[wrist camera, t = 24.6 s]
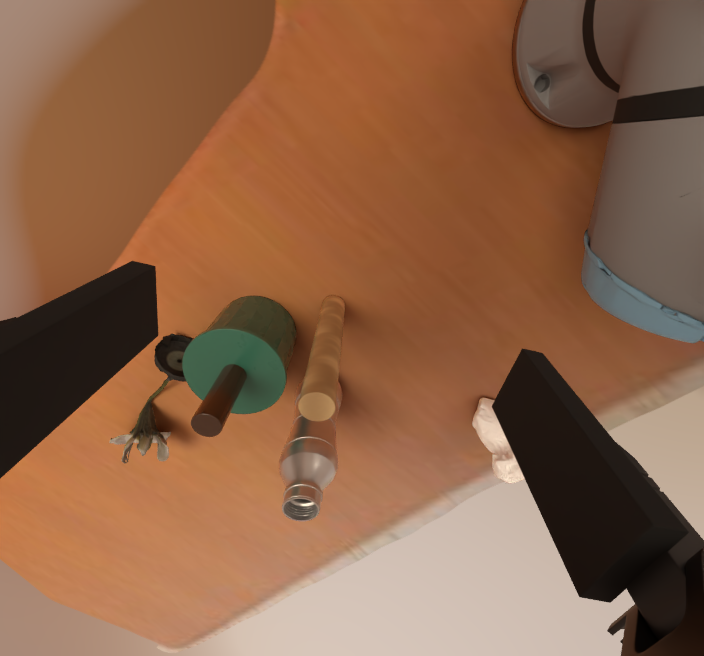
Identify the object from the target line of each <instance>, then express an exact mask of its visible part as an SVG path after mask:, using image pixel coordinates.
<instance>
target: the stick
mask: <svg viewBox="0 0 704 656" xmlns="http://www.w3.org/2000/svg"><path fill="white" fill-rule="evenodd" d="M344 313H345V303H344V301H343V299H342V298H340V297H339V296H335V295H331V296H328V297H326V298H325V299H324V300H323V303H322V307H321V311H320V315H319V319H318V323H317V328H316V332H315V336H314V340H313V344H312V349H311V353H310V357H309V361H308V365H307V369H306V374H305V378H304V382H303V386H302V390H301V394H300V399H299V403H298V408H299V411H300V413H301V414H302V415H303V416H304V417H305V418H307V419H309V420H311V421H324V420H327V419H329V418H330V417H331V416H332V415H333V414H334V412H335V409H336V398H337V387H338V377H339V366H340V355H341V345H342V334H343V324H344Z"/></svg>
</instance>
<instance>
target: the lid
mask: <svg viewBox="0 0 704 656" xmlns="http://www.w3.org/2000/svg"><path fill="white" fill-rule="evenodd" d="M182 367H183V373H184V377H185V379H186V381H187V383H188V385H189V387H190V388H191V389H192V391H193V392H194V393H195V394H196V395H197V396H198V397H199V398H200V399H201V400H203V401H202V403H201V405H200V406H199V408H198V410H197V411H196V413H195V414H194V416H193V418H192V420H191V426H192V428H193V429H194V431H195V432H197V433H198V434H200V435H202V436H206V437H213V436H216V435H218V434H219V433H220V432H221V431H222V429H223V427H224V424H225V422H226V420H227V418H228V416H229V414H230V413H235V414H251V413H256V412H259V411H262V410H265V409H267V408H268V407H270V406H272V405H273V404H274V403H275V402H276V401H277V400H278V399H279V398H280V396H281V395H282V393H283V391H284V388H285V385H286V380H287V371H286V366H285V363H284V361H283V359H282V357H281V355H280V353H279V352H278V351H277V349H276V348H275V347H274V346H273V345H272V344H271V343H270V342H269V341H267V340H266V339H265V338H263V337H262V336H260V335H258V334H256V333H254V332H252V331H249V330H247V329H243V328H239V327H229V326H225V327H216V328H212V329H209V330H206V331H204V332H202V333H200V334H199V335H198V336H196V337H195V338H194V339H193V340H192V341H191V343H190V344H189V345H188V347H187V348H186V350H185V352H184V356H183V362H182Z"/></svg>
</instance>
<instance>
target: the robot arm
mask: <svg viewBox="0 0 704 656" xmlns="http://www.w3.org/2000/svg"><path fill="white" fill-rule="evenodd" d="M512 63H513V72H514V76H515V81H516V84H517V87H518V89H519V92H520V94H521V96H522V98H523V99H524V101H525V103H526V104H527V105H528V107H529V108H530V109H531V110H532V111H533V112H534V113H535V114H536V115H537V116H539V117H540V118H541V119H543V120H545V121H546V122H549V123H551V124H554V125H557V126H561V127H568V128H579V127H590V126H596V125H600V124H604V123H607V122H609V121H612V120H613V122H612V123H614V124H612V126H611V130H610V134H609V139H608V143H607V148H606V152H605V157H604V161H603V165H602V170H601V174H600V179H599V183H598V187H597V192H596V196H595V201H594V205H593V210H592V214H591V218H590V223H589V227H588V229H587V230H586V232H585V235H584V246H585V253H584V259H583V265H582V271H581V279H582V284H583V286H584V288H585V289H586V290H587V292H588V293H589V296H590V297H591V299H592V300H593V301H594V302H595V303H596V304H598V305H599V306H600V307H601V308H602V309H604V310H605V311H607V312H608V313H610V314H611V315H613V316H615V317H616V318H618V319H620V320H622V321H624V322H626V323H629V324H631V325H633V326H635V327H638V328H640V329H643V330H645V331H648V332H651V333H654V334H657V335H660V336H663V337H667V338H670V339H675V340H679V341H684V342H689V343H695V342H698V341H699V340H701V341H703V342H704V0H523V2H522V5H521V8H520V11H519V14H518V17H517V21H516V25H515V30H514V36H513V44H512ZM157 336H158V318H157V294H156V271H155V266H152V265H148V264H143V263H139V262H135V261H131V262H129V263H127V264H125V265H123V266H121V267H119V268H117V269H115V270H113V271H111V272H109V273H107V274H105V275H103V276H101V277H99V278H97V279H95V280H93V281H91V282H89V283H87V284H85V285H83V286H81V287H79V288H77V289H75V290H73V291H71V292H69V293H67V294H65V295H63V296H60V297H58V298H56V299H54V300H52V301H50V302H49V303H46V304H44V305H42V306H40V307H39V308H36V309H34V310H32V311H30V312H28V313H26V314H24V315H22V316H20V317H18V318H16V317H14V318H11V319H7V320H3V321H0V478H1V477H2V476H4V475H5V474H6V473H7V472H8V471H9V470H10V469H11V468H12V467H14V466H15V465H16V464H17V463H18V462H19V461H20V460H21V459H22V458H23V457H25V456H26V455H27V454H28V453H29V452H30V451H31V450H32V449H33V448H34V447H36V446H37V445H38V444H39V443H40V442H41V441H42V440H43V439H44V438H46V437H47V436H48V435H49V434H50V433H51V432H52V431H53V430H54V429H55V428H57V427H58V426H59V425H60V424H61V423H62V422H63V421H64V420H65V419H67V418H68V417H69V416H70V415H71V414H72V413H73V412H74V411H75V410H76V409H78V408H79V407H80V406H81V405H82V404H83V403H84V402H85V401H86V400H88V399H89V398H90V397H91V396H92V395H93V394H94V393H95V392H96V391H97V390H99V389H100V388H101V387H102V386H103V385H104V384H105V383H106V382H107V381H108V380H110V379H111V378H112V377H113V376H114V375H115V374H116V373H117V372H118V371H120V370H121V369H122V368H123V367H124V366H125V365H126V364H127V363H128V362H129V361H131V360H132V359H133V358H134V357H135V356H136V355H137V354H138V353H139V352H141V351H142V350H143V349H144V348H145V347H146V346H147V345H148V344H149V343H150V342H152V341H153V340H154V339H155V338H156V337H157ZM492 408H493V411H494V413H495V415H496V417H497V419H498V421H499V424H500V426H501V428H502V430H503V432H504V434H505V437H506V439H507V441H508V443H509V445H510V447H511V450H512V452H513V454H514V456H515V458H516V460H517V463H518V465H519V467H520V469H521V471H522V473H523V476H524V478H525V480H526V482H527V484H528V486H529V489H530V491H531V493H532V495H533V497H534V500H535V502H536V504H537V506H538V508H539V510H540V512H541V515H542V517H543V519H544V521H545V523H546V526H547V528H548V530H549V532H550V534H551V536H552V538H553V541H554V543H555V545H556V547H557V549H558V552H559V554H560V556H561V558H562V560H563V562H564V565H565V567H566V569H567V571H568V573H569V575H570V577H571V580H572V582H573V584H574V586H575V589H576V590H577V593H578V595H579V597H582V598H588V599H593V600H599V601H604V602H612V601H613V600H614V599H615V598H616V597H617V596H618V595H619V594H621V593H622V592H623V591H624V590H625V589H626V588H627V590H628V592H629V594H630V595H631V597H632V599H633V600H634V602H635V605H634V606H632V607H631V608H630V609H629V610H628V611H626V612H625V613H624V614H623V615H622V616H620V617H619V618H618V619H617V620H616V621H614V622H613V623H612V624H611V625H610V627H609V629H608V632H609V633H610V634H612V635H614V634H615V633H616V632H617V631H619V630H620V629H625V630H624V637H623V639H622V640H621V643H622V644H623V645H622V652H621V656H704V540H703V539H702V538H701V537H700V535H699V534H698V533H697V532H696V531H695V530H694V528H693V527H692V526H691V525H690V523H689V522H688V521H687V520H686V519H685V518H684V516H683V515H682V514H681V513H680V512H679V510H678V509H677V508H676V507H675V506H674V504H673V503H672V502H671V501H670V500H669V499H668V497H667V496H666V495H665V494H664V492H661V491H660V488H659V487H658V485H657V484H656V483H655V482H654V481H653V479H652V478H650V477H648V474H647V472H646V471H645V470H644V469H643V468H642V466H641V465H640V464H639V463H638V462H637V460H636V459H635V458H634V457H633V456H632V455H630V454H629V453H628V452H627V451H626V450H624V449H623V448H622V447H621V446H620V445H618V444H617V443H616V442H615V441H614V440H613V439H612V437H611V436H610V435H609V434H608V433H607V431H606V430H605V429H604V428H603V426H602V425H601V424H600V423H599V422H598V420H597V419H596V418H595V417H594V415H593V414H592V413H591V412H590V411H589V409H588V408H587V407H586V406H585V404H584V403H583V402H582V401H581V400H580V398H579V397H578V396H577V395H576V394H575V392H574V391H573V390H572V389H571V387H570V386H569V385H568V384H567V383H566V381H565V380H564V379H563V378H562V376H561V375H560V374H559V373H558V372H557V370H556V369H555V368H554V367H553V365H552V364H551V363H550V362H549V361H548V359H547V358H546V357H545V356H544V354H543V353H540V352H536V351H531V350H527V349H522V350H521V352H520V354H519V356H518V358H517V360H516V361H515V363H514V365H513V367H512V369H511V371H510V373H509V375H508V376H507V378H506V380H505V382H504V384H503V386H502V388H501V390H500V391H499V393H498V395H497V397H496V399H495V401H494V403H493V405H492Z"/></svg>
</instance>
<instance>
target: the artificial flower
mask: <svg viewBox="0 0 704 656" xmlns="http://www.w3.org/2000/svg"><path fill="white" fill-rule="evenodd" d="M192 340H193V339H190V338H187V337H184V336H181V335H180V336H179V335H174V334H171V335H169V336H165V337H163V340H161V341H160V343H158V345H157V346H156V349H155V364H156V366H157V367H158V368H159V370H160V371H162V372H164V373H166V374H167V375H168V378H167V379H166V380H165V381H164V383H163V384H162V386H161V387H160V388H159V389H158V390H157V391H156V392H155V393H154V394H153V395H152V396H151V397H150V398H149V399H148V401H147V403H146V405H145V407H144V408H143V410H142V411H141V413H140V414H139V418H138V422H137V424H136V426H135V428H134V429H133V430H132V431H131V432H130V433H131V434H127V435H121V436H118V437H116V438H113V439H112V438H111V439H110V443H114V444H126V445H125V448H124V452H123V457H122V462H123V463H127V462H128V459H127V456H126V455H127V453H128V457H129V453H130V450H131V447H132V445H133V442H134V443H139V444H138V445H137V448H138V450H139V451H140V452H141V455H142V456H144V455H145V454H146V452H147V450H149V448H150V446H151V443H158V452H157V458H158V460H159V461H166V460H167V459H168V456H169V448H168V447H167V445H166V444H167V442H166V440H167V438H168V437H169V436H170V434H171V432H159V431H158V429H157V427H156V422H155V416H154V413H153V412H154V411H153V409H152V404H151V401H152V399H153V398H154V397H155V396H156V395H157V394H159V393H160V392H161V391H162V390H163V389H164V387H165V386H166V385H167V383H168V382H169V381H170V380H173V379H174V380H178V381H186V379H185V377H184V373H183V367H182V362H183V356H184V352H185V350H186V348H187V347H188V345H189V344H190V343H191V341H192ZM128 451H129V452H128ZM125 460H127V462H125Z"/></svg>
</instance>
